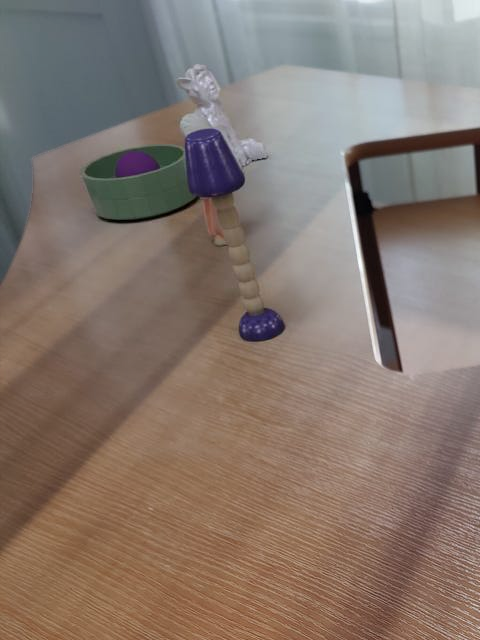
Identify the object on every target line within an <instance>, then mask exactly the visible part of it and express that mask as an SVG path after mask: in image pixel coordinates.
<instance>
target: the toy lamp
mask: <svg viewBox="0 0 480 640" xmlns="http://www.w3.org/2000/svg"><path fill="white" fill-rule="evenodd" d="M184 148H185V157H186V169H187V180H188V187H189V190H190V192H191V193H192V194H193V195H194V196H196V197H198V198H200V197H205V198H210V197H211V199H212V202H213V204H214V206H215V207H216V208H217V218H218V221H219V223H220V225H221V226H222V227H223V237H224V240H225V242H226V243H227V245H226V246H227V253H228V257H229V259H230V261H231V263H233V265H232V269H233V274H234V276H235V278H236V280H238V289H239V292H240V294H241V296H242V297H243V306H244V308H245V310H246V311H245V313H244V314H243V315H242V316H241V317H240V320H239V323H238V334H239V337H240V338H241V339H243V340H246V341H249V342H251V341H252V342H260V341H266V340H269V339H272V338H274V337H277V336H278V335H280V334H282V332H283V331H284V329H285V325H286V324H285V322H284V320H283V319H282V316H281V315H280V314H279V313H278V312H277V311H276V310H274V309H272V308H270V307H265V301H264V298H263V297H262V295H261V294H260V285H259V282H258V280H257V278H256V270H255V267H254V264H253V263H252V261H251V253H250V248H249V246H248V244H247V243H246V242H245V237H246V236H245V232H244V229H243V227H242V226H241V224H240V214H239V212H238V210H237V208H236V206H234V204H235V203H234V201H235V200H234V192H237V191H239V190H240V189H242V188H243V186H244V185H245V184H246V177H245V174H244V172H243V169H242V170H241V168H240V166H239V164H238V162H237V160H236V158H235V157H234V155H233V153H232V151H231V149H230V147H229V146H228V144H227V142H226V140H225V138H224V136H223V135H222V133H221V132H220V131H219V130H217V129H201V130H197V131H194V132H192V133H190V134H188V135H187V136H186V138H185V137H184Z"/></svg>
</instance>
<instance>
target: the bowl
mask: <svg viewBox="0 0 480 640" xmlns="http://www.w3.org/2000/svg"><path fill="white" fill-rule="evenodd" d="M129 151H142V152H144V153H147V154H148V155H150V156H151V157H153V158H154V159H155V160H156V162H157V163H158V164H159V166H160V169H158V170H155V171H151V172H147V173H143V174H140V175H134V176H128V177H123V178H116V175H115V168H116V164H117V161H118V160H119V158H120V157H121V156H122V155H123V154H125V153H127V152H129ZM79 176H80V179H81V181H82V183H83V186H84V188H85V191H86V193H87V196H88V199H89V201H90V204H91V207H92V209H93V212H94V213H95V214H96V215H97V216H98V217H100V218H103V219H106V220H119V221H136V220H137V221H138V220H144V219H148V218H154V217H158V216H162V215H166V214H168V213H171V212H173V211H176V210H178V209H180V208H182V207H184V206H186V205H187V204H189V203H190V202H192V201H194V200H195V199H196V198H197V196H194V195H193V194H192V193H191V192H190V190H189V187H188V180H187V169H186V157H185V146H182V145H179V144H169V143H168V144H167V143H165V144H164V143H161V144H160V143H159V144H158V143H157V144H146V145H141V146H135V147H129V148H125V149H121V150H117V151H113V152H111V153H107V154H105V155H102V156H99V157H96V159H93V160H91V161H89V162H87V163H86V164H85V165H84V166H82V167H81V169H80V171H79Z"/></svg>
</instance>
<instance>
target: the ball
mask: <svg viewBox="0 0 480 640" xmlns="http://www.w3.org/2000/svg"><path fill="white" fill-rule="evenodd" d="M158 169H160V166H159V164H158V163H157V162H156V160H155V159H154V158H153V157H151V156H150V155H148V154H147V153H144V152H142V151H129V152H127V153H125V154H123V155H122V156H121V157H120V158H119V160H118V161H117V164H116V168H115V175H116V178H123V177H128V176H134V175H140V174H143V173H147V172H151V171H155V170H158Z"/></svg>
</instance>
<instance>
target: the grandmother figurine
mask: <svg viewBox="0 0 480 640" xmlns="http://www.w3.org/2000/svg"><path fill="white" fill-rule="evenodd" d="M201 129H214V128H213V127H212V126H211V124H210V123H209V121H208V120H207V119H206V118H204V117H202V116H201V115H199V114H196V113H194V112H191V113H187V114H185V115H183V116H182V118H181V119H180V122H179V130H180V133H182V135H183V137H184V139H185V138H186V136H187V135H188V134H190V133H192V132H194V131H197V130H201ZM199 198H200V200H201V201H202V208H203V215H204V221H205V226H206V232H207V235H208V236H209V237H212V236H214V239H213V240H214V241H213V242H214V246H217V247H222V246H228V245H227V243H226V242H225V240H224V237H223V227H222V226H221V225H220V223H219V221H218V218H217V208H216V207H215V206H214V204H213V202H212V199H211V197H210V198H205V197H199Z"/></svg>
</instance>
